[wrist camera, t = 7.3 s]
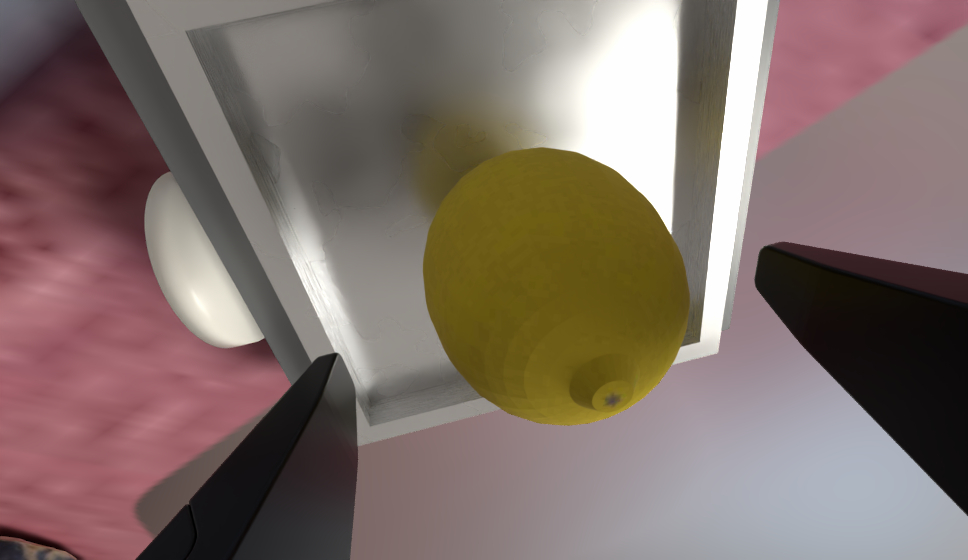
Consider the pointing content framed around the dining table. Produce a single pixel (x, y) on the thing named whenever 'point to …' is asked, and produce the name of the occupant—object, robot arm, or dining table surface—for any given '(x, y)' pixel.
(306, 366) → the scale
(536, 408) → the lemon
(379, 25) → the pan
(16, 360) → the dining table surface
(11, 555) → the jug
